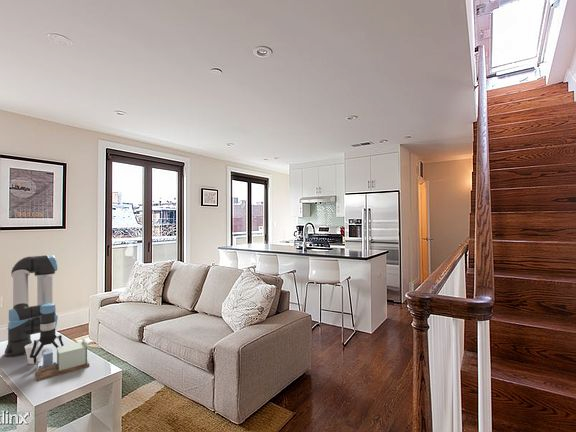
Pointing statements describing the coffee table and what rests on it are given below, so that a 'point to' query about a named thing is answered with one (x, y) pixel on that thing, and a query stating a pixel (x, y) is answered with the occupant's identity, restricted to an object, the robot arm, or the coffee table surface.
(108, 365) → the coffee table surface
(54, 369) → the board
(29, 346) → the cup
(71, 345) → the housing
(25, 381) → the coffee table surface
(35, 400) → the coffee table surface
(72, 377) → the coffee table surface
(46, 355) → the jaw block
